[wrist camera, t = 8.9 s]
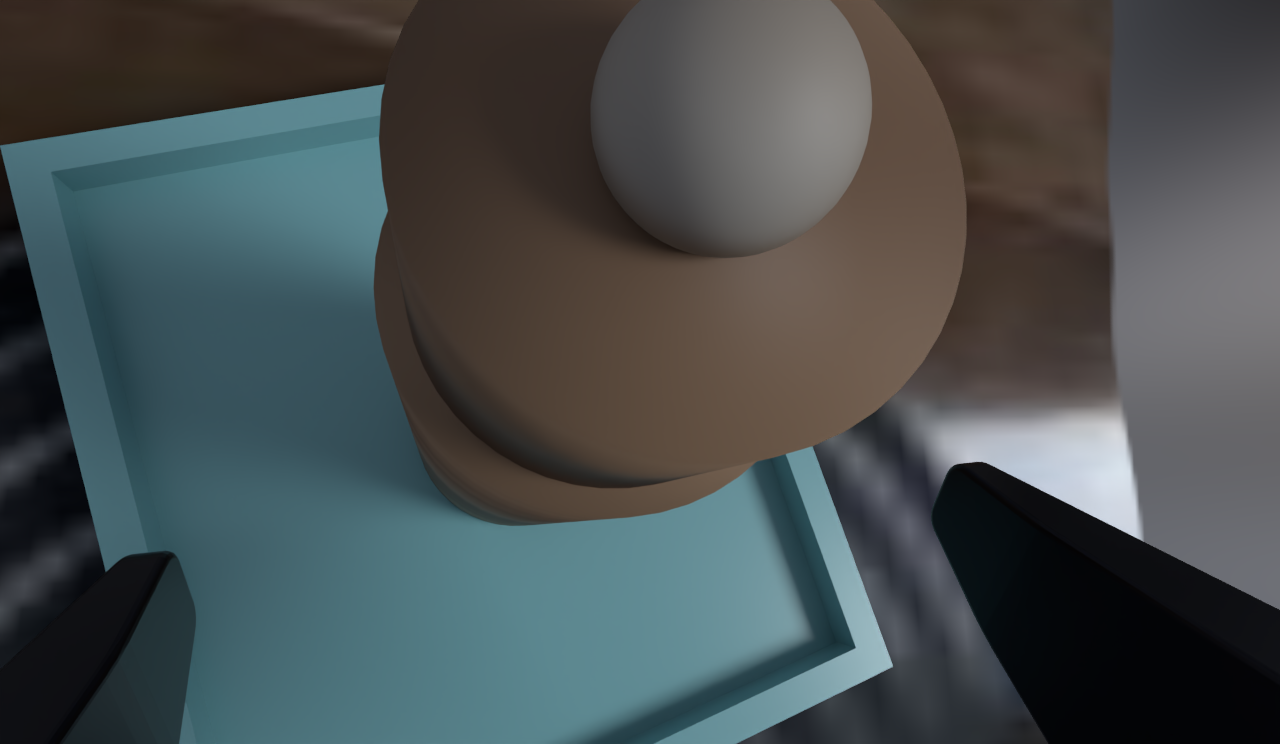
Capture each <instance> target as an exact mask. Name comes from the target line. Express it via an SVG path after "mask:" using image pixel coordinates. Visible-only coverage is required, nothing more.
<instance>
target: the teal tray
mask: <svg viewBox="0 0 1280 744" xmlns="http://www.w3.org/2000/svg"><path fill="white" fill-rule="evenodd" d="M384 85H385V84H384ZM384 85H378V86H372V87H366V88H359V89H353V90H347V91H340V92H334V93H328V94H322V95H315V96H309V97H303V98H296V99H290V100H284V101H278V102H271V103H265V104H259V105H253V106H246V107H240V108H234V109H227V110H221V111H215V112H209V113H202V114H196V115H190V116H183V117H177V118H171V119H165V120H158V121H152V122H146V123H140V124H133V125H127V126H121V127H114V128H108V129H102V130H96V131H89V132H83V133H77V134H71V135H64V136H58V137H52V138H45V139H39V140H33V141H27V142H20V143H14V144H8V145H1V146H0V148H1V152H2V156H3V160H4V164H5V168H6V172H7V176H8V180H9V184H10V188H11V192H12V196H13V200H14V204H15V208H16V212H17V216H18V220H19V224H20V228H21V232H22V236H23V240H24V244H25V248H26V252H27V257H28V261H29V265H30V269H31V273H32V277H33V281H34V285H35V289H36V293H37V297H38V301H39V305H40V309H41V313H42V317H43V321H44V325H45V329H46V333H47V337H48V341H49V345H50V349H51V353H52V357H53V361H54V365H55V369H56V373H57V377H58V381H59V385H60V389H61V393H62V397H63V401H64V405H65V410H66V414H67V418H68V422H69V426H70V430H71V434H72V438H73V442H74V446H75V450H76V454H77V458H78V462H79V466H80V470H81V474H82V478H83V482H84V486H85V490H86V494H87V498H88V502H89V506H90V510H91V514H92V518H93V522H94V526H95V530H96V534H97V538H98V542H99V546H100V550H101V554H102V558H103V563H104V567H105V571H106V572H107V571H108V570H109V569H110V568H111V567H112V566H113V565H114V564H115V563H116V562H118V561H119V560H120V559H122V558H123V557H125V556H128V555H131V554H139V553H148V552H157V551H171V552H173V553H174V554H175V555H176V556H177V557H178V559H179V561H180V564H181V567H182V570H183V573H184V576H185V578H186V581H187V584H188V587H189V590H190V593H191V596H192V598H193V601H194V605H195V610H196V630H195V637H194V644H193V651H192V658H191V665H190V672H189V679H188V686H187V693H186V700H185V707H184V714H183V721H182V727H181V734H180V741H179V744H736V743H738V742H740V741H742V740H744V739H746V738H749V737H751V736H753V735H755V734H757V733H759V732H761V731H763V730H765V729H767V728H769V727H771V726H773V725H775V724H777V723H779V722H781V721H783V720H785V719H787V718H789V717H791V716H793V715H795V714H797V713H799V712H802V711H804V710H806V709H808V708H810V707H812V706H814V705H816V704H818V703H820V702H822V701H824V700H826V699H828V698H830V697H832V696H834V695H836V694H838V693H840V692H842V691H844V690H846V689H848V688H850V687H852V686H855V685H857V684H859V683H861V682H863V681H865V680H867V679H869V678H871V677H873V676H875V675H877V674H879V673H881V672H883V671H885V670H887V669H889V668H891V667H893V665H892V662H891V659H890V657H889V654H888V651H887V649H886V646H885V643H884V640H883V638H882V635H881V632H880V629H879V627H878V624H877V621H876V619H875V616H874V613H873V610H872V608H871V605H870V602H869V599H868V597H867V594H866V591H865V589H864V586H863V583H862V580H861V578H860V575H859V572H858V570H857V567H856V564H855V561H854V559H853V556H852V553H851V550H850V548H849V545H848V542H847V540H846V537H845V534H844V531H843V529H842V526H841V523H840V520H839V518H838V515H837V512H836V510H835V507H834V504H833V501H832V499H831V496H830V493H829V490H828V488H827V485H826V482H825V480H824V477H823V474H822V471H821V469H820V466H819V463H818V461H817V458H816V455H815V452H814V450H813V447H809V448H805V449H802V450H798V451H795V452H791V453H788V454H784V455H781V456H777V457H774V458H769V459H765V460H761V461H757V462H756V463H754V464H753V465H752V466H751V467H750V468H749V469H747V470H746V471H745V472H744V473H743V474H742V475H740V476H739V477H738V478H736V479H735V480H733V481H732V482H730V483H729V484H727V485H725V486H724V487H722V488H721V489H719V490H718V491H716V492H714V493H712V494H710V495H708V496H706V497H704V498H701V499H699V500H697V501H695V502H693V503H690V504H688V505H685V506H681V507H678V508H675V509H671V510H668V511H665V512H661V513H656V514H649V515H643V516H636V517H629V518H616V519H603V520H590V521H578V522H565V523H552V524H539V525H527V526H507V525H499V524H494V523H490V522H486V521H483V520H481V519H478V518H476V517H473V516H471V515H469V514H467V513H466V512H464V511H462V510H460V509H459V508H458V507H456V506H455V505H454V504H452V503H451V502H450V501H449V500H448V499H447V498H446V497H445V496H444V495H443V494H442V493H441V492H440V491H439V490H438V488H437V487H436V486H435V484H434V483H433V482H432V480H431V479H430V477H429V475H428V473H427V471H426V470H425V467H424V465H423V462H422V459H421V457H420V454H419V451H418V448H417V445H416V443H415V440H414V437H413V434H412V431H411V428H410V425H409V422H408V419H407V417H406V414H405V411H404V408H403V405H402V402H401V399H400V396H399V393H398V391H397V388H396V385H395V382H394V379H393V376H392V373H391V370H390V368H389V365H388V362H387V359H386V356H385V353H384V350H383V346H382V342H381V338H380V333H379V329H378V325H377V320H376V312H375V300H374V288H373V287H374V270H375V256H376V252H377V247H378V242H379V237H380V233H381V228H382V225H383V223H384V220H385V217H386V214H387V212H388V209H387V203H386V198H385V192H384V187H383V181H382V170H381V158H380V147H379V129H380V112H381V98H382V94H383V89H384Z"/></svg>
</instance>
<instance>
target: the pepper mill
mask: <svg viewBox="0 0 1280 744" xmlns="http://www.w3.org/2000/svg"><path fill="white" fill-rule="evenodd" d="M379 147H380V158H381V170H382V181H383V187H384V192H385V198H386V203H387V209H388V212H387V214H386V217H385V220H384V223H383V225H382V228H381V233H380V237H379V242H378V247H377V252H376V256H375V270H374V287H373V288H374V300H375V312H376V320H377V325H378V329H379V333H380V338H381V342H382V346H383V350H384V353H385V356H386V359H387V362H388V365H389V368H390V370H391V373H392V376H393V379H394V382H395V385H396V388H397V391H398V393H399V396H400V399H401V402H402V405H403V408H404V411H405V414H406V417H407V419H408V422H409V425H410V428H411V431H412V434H413V437H414V440H415V443H416V445H417V448H418V451H419V454H420V457H421V459H422V462H423V465H424V467H425V470H426V471H427V473H428V475H429V477H430V479H431V480H432V482H433V483H434V484H435V486H436V487H437V488H438V490H439V491H440V492H441V493H442V494H443V495H444V496H445V497H446V498H447V499H448V500H449V501H450V502H451V503H452V504H454V505H455V506H456V507H458V508H459V509H460V510H462V511H464V512H466V513H467V514H469V515H471V516H473V517H476V518H478V519H481V520H483V521H486V522H490V523H494V524H499V525H507V526H527V525H539V524H552V523H565V522H578V521H590V520H603V519H616V518H629V517H636V516H643V515H649V514H656V513H661V512H665V511H668V510H671V509H675V508H678V507H681V506H685V505H688V504H690V503H693V502H695V501H697V500H699V499H701V498H704V497H706V496H708V495H710V494H712V493H714V492H716V491H718V490H719V489H721V488H722V487H724V486H725V485H727V484H729V483H730V482H732V481H733V480H735V479H736V478H738V477H739V476H740V475H742V474H743V473H744V472H745V471H746V470H747V469H749V468H750V467H751V466H752V465H753V464H754V463H756V462H757V461H761V460H765V459H769V458H774V457H777V456H781V455H784V454H788V453H791V452H795V451H798V450H802V449H805V448H809V447H812V446H814V445H816V444H818V443H821V442H823V441H825V440H827V439H829V438H831V437H834V436H836V435H838V434H840V433H842V432H845V431H846V430H848V429H849V428H851V427H852V426H854V425H855V424H857V423H858V422H860V421H862V420H863V419H865V418H866V417H868V416H869V415H871V414H872V413H874V412H875V411H876V410H877V409H879V408H880V407H881V406H882V405H883V404H884V403H885V402H886V401H888V400H889V399H890V398H891V397H892V396H893V395H894V394H895V393H896V392H898V391H899V390H900V389H901V388H902V387H903V385H904V384H905V383H906V382H907V381H908V379H909V378H910V377H911V376H912V375H913V373H914V372H915V371H916V370H917V369H918V367H919V366H920V365H921V364H922V362H923V361H924V359H925V358H926V356H927V354H928V353H929V351H930V349H931V348H932V346H933V344H934V343H935V341H936V339H937V338H938V336H939V334H940V333H941V330H942V328H943V326H944V323H945V321H946V319H947V316H948V314H949V311H950V309H951V307H952V304H953V302H954V298H955V294H956V291H957V287H958V283H959V279H960V276H961V272H962V266H963V259H964V251H965V243H966V196H965V188H964V179H963V171H962V166H961V162H960V158H959V154H958V149H957V145H956V141H955V137H954V134H953V131H952V128H951V126H950V123H949V120H948V117H947V115H946V112H945V109H944V106H943V104H942V102H941V100H940V97H939V95H938V93H937V91H936V89H935V87H934V85H933V83H932V81H931V79H930V77H929V75H928V73H927V71H926V70H925V68H924V66H923V65H922V63H921V62H920V60H919V58H918V57H917V55H916V54H915V52H914V50H913V49H912V47H911V45H910V44H909V42H908V41H907V40H906V39H905V37H904V36H903V35H902V33H901V32H900V31H899V30H898V28H897V27H896V26H895V24H894V23H893V22H892V20H891V19H890V18H889V17H888V15H887V14H886V13H885V12H884V11H883V10H882V9H881V8H880V7H879V6H878V5H877V4H876V3H875V2H874V0H419V1H418V2H417V4H416V6H415V7H414V9H413V11H412V12H411V14H410V16H409V17H408V19H407V21H406V22H405V24H404V26H403V29H402V31H401V34H400V36H399V39H398V41H397V44H396V46H395V49H394V51H393V54H392V56H391V59H390V62H389V67H388V71H387V76H386V80H385V85H384V89H383V94H382V98H381V112H380V129H379Z"/></svg>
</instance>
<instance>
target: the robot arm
mask: <svg viewBox="0 0 1280 744" xmlns="http://www.w3.org/2000/svg"><path fill="white" fill-rule="evenodd" d="M931 521H932V525H933V528H934V531H935V533H936V535H937V537H938V539H939V541H940V544H941V546H942V548H943V550H944V552H945V554H946V556H947V558H948V561H949V563H950V565H951V567H952V569H953V571H954V573H955V575H956V577H957V580H958V582H959V584H960V586H961V588H962V590H963V592H964V594H965V597H966V599H967V601H968V603H969V605H970V607H971V609H972V611H973V614H974V616H975V618H976V620H977V622H978V624H979V626H980V628H981V630H982V632H983V633H984V635H985V637H986V639H987V640H988V642H989V644H990V646H991V648H992V649H993V651H994V653H995V654H996V656H997V658H998V660H999V661H1000V663H1001V665H1002V666H1003V668H1004V670H1005V671H1006V673H1007V675H1008V676H1009V678H1010V680H1011V682H1012V683H1013V685H1014V687H1015V688H1016V690H1017V692H1018V693H1019V695H1020V697H1021V698H1022V700H1023V702H1024V704H1025V705H1026V707H1027V709H1028V710H1029V712H1030V714H1031V715H1032V717H1033V719H1034V720H1035V722H1036V724H1037V725H1038V727H1039V729H1040V731H1041V732H1042V734H1043V736H1044V737H1045V739H1046V741H1047V742H1048V744H1280V610H1279V609H1277V608H1275V607H1273V606H1271V605H1269V604H1267V603H1265V602H1263V601H1261V600H1259V599H1257V598H1255V597H1253V596H1251V595H1249V594H1247V593H1245V592H1243V591H1241V590H1239V589H1237V588H1235V587H1233V586H1231V585H1229V584H1227V583H1225V582H1223V581H1221V580H1219V579H1217V578H1215V577H1213V576H1211V575H1209V574H1207V573H1205V572H1203V571H1201V570H1199V569H1197V568H1195V567H1193V566H1191V565H1189V564H1187V563H1185V562H1183V561H1181V560H1179V559H1177V558H1175V557H1173V556H1171V555H1169V554H1167V553H1165V552H1163V551H1161V550H1159V549H1157V548H1155V547H1153V546H1151V545H1149V544H1147V543H1145V542H1143V541H1141V540H1139V539H1137V538H1135V537H1133V536H1131V535H1129V534H1127V533H1125V532H1123V531H1121V530H1119V529H1117V528H1115V527H1113V526H1111V525H1109V524H1107V523H1105V522H1103V521H1101V520H1099V519H1097V518H1095V517H1093V516H1091V515H1089V514H1087V513H1085V512H1083V511H1081V510H1079V509H1077V508H1075V507H1073V506H1071V505H1069V504H1067V503H1065V502H1063V501H1061V500H1059V499H1057V498H1055V497H1053V496H1051V495H1049V494H1047V493H1045V492H1043V491H1041V490H1039V489H1037V488H1035V487H1033V486H1031V485H1029V484H1027V483H1025V482H1023V481H1021V480H1019V479H1017V478H1015V477H1013V476H1011V475H1009V474H1007V473H1005V472H1003V471H1001V470H999V469H997V468H995V467H993V466H991V465H989V464H987V463H983V462H972V463H963V464H957V465H954V466H953V467H952V468H950V469H949V471H948V473H947V475H946V477H945V479H944V482H943V484H942V486H941V489H940V491H939V494H938V496H937V498H936V501H935V503H934V505H933V508H932V512H931ZM195 630H196V610H195V605H194V601H193V598H192V596H191V593H190V590H189V587H188V584H187V581H186V578H185V576H184V573H183V570H182V567H181V564H180V561H179V559H178V557H177V556H176V555H175V554H174V553H173V552H171V551H157V552H148V553H139V554H131V555H128V556H125V557H123V558H122V559H120V560H119V561H118V562H116V563H115V564H114V565H113V566H112V567H111V568H110V569H109V570H108V571H107V572H105V573H104V574H103V575H102V576H101V577H100V578H99V579H98V580H97V581H96V582H95V583H94V584H92V585H91V586H90V587H89V588H88V589H87V590H86V591H85V592H84V593H83V594H82V595H81V596H79V597H78V598H77V599H76V600H75V601H74V602H73V603H72V604H71V605H70V606H69V607H68V608H66V609H65V610H64V611H63V612H62V613H61V614H60V615H59V616H58V617H57V618H56V619H55V620H54V621H52V622H51V623H50V624H49V625H48V626H47V627H46V628H45V629H44V630H43V631H42V632H41V633H39V634H38V635H37V636H36V637H35V638H34V639H33V640H32V641H31V642H30V643H29V644H28V645H26V646H25V647H24V648H23V649H22V650H21V651H20V652H19V653H18V654H17V655H16V656H15V657H13V658H12V659H11V660H10V661H9V662H8V663H7V664H6V665H5V666H4V667H3V668H2V669H0V744H179V741H180V734H181V727H182V721H183V714H184V707H185V700H186V693H187V686H188V679H189V672H190V665H191V658H192V651H193V644H194V637H195Z"/></svg>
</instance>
